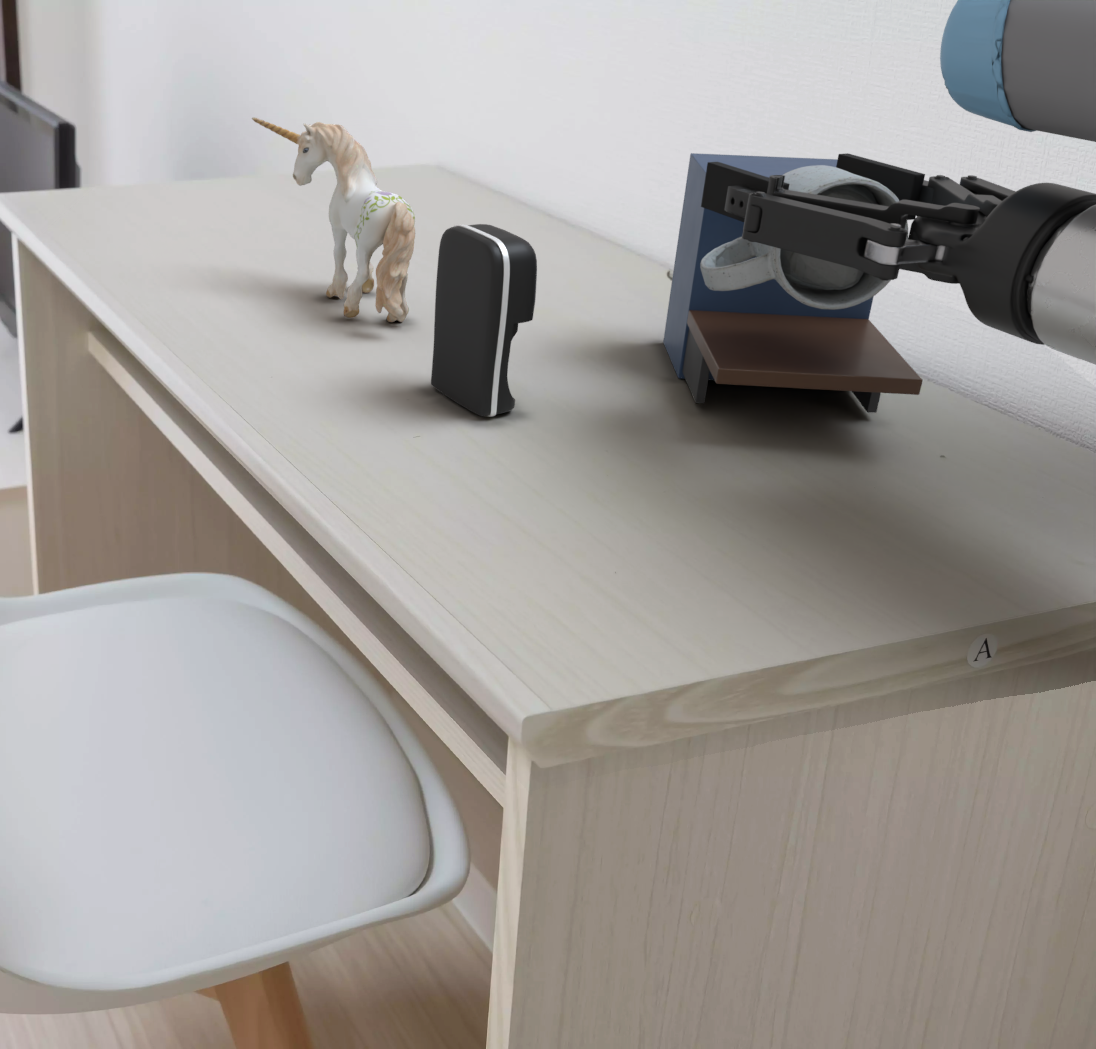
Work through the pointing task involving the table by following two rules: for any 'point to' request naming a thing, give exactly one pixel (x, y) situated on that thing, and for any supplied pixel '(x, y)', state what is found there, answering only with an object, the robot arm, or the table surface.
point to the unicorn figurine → (358, 217)
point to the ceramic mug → (795, 271)
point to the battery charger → (480, 313)
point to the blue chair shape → (767, 315)
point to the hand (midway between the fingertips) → (775, 179)
